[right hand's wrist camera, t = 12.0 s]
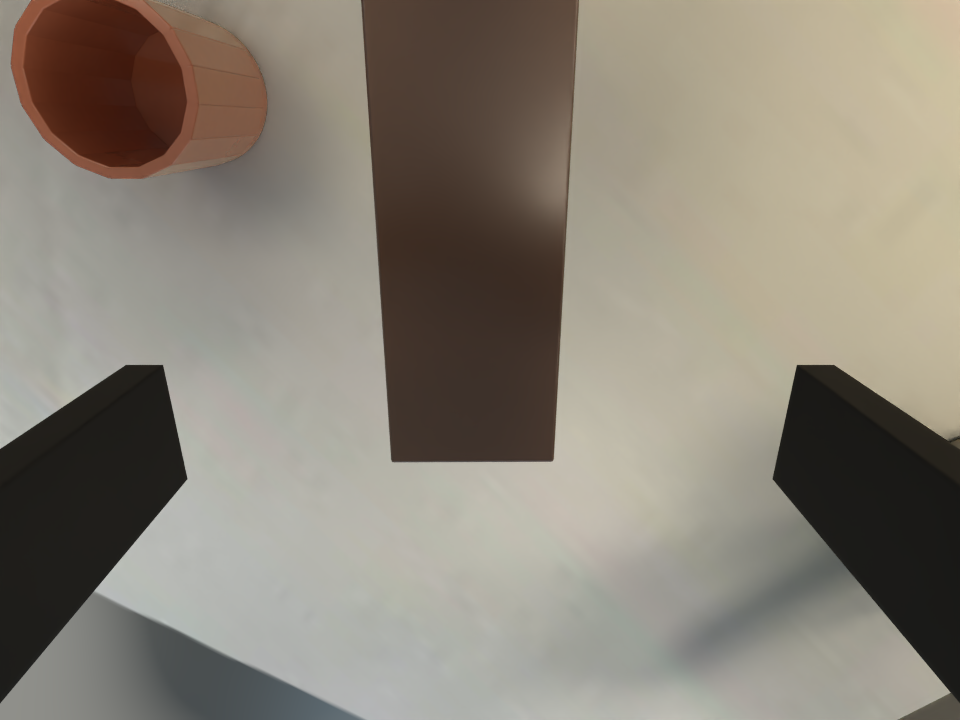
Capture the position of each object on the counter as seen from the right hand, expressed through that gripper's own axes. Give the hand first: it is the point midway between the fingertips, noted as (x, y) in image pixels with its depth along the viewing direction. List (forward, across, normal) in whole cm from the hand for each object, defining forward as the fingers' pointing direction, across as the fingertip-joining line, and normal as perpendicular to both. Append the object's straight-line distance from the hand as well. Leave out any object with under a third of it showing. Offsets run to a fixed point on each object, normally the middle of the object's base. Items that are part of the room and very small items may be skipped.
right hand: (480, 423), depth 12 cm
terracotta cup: (+24, +16, -8) cm, 30 cm away
